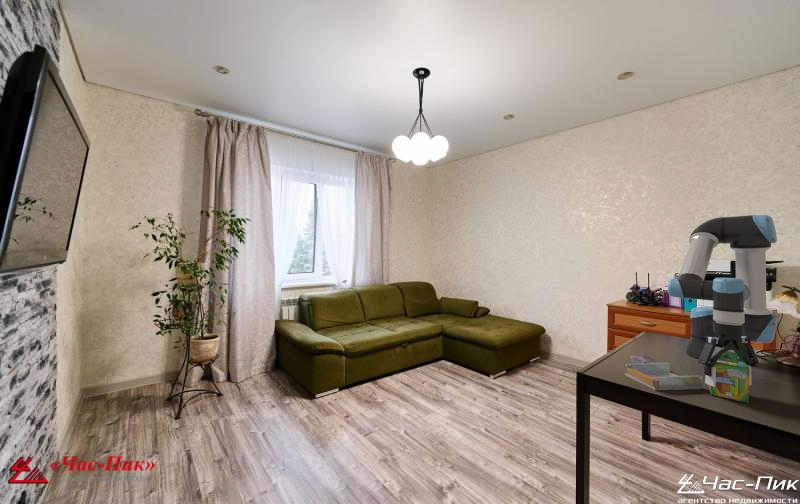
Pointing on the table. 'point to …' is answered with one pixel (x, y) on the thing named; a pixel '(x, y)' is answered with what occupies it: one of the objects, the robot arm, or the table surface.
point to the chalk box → (731, 378)
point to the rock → (642, 359)
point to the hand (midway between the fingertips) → (728, 384)
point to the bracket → (661, 377)
